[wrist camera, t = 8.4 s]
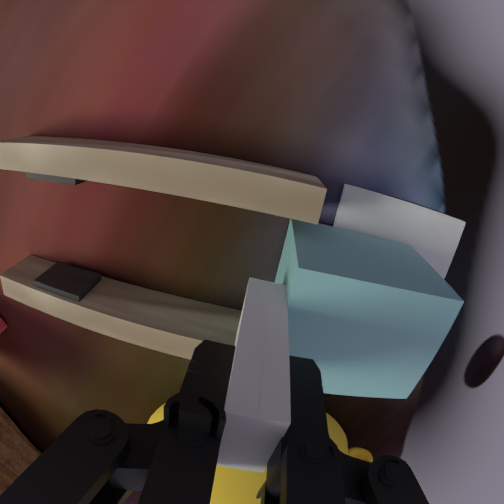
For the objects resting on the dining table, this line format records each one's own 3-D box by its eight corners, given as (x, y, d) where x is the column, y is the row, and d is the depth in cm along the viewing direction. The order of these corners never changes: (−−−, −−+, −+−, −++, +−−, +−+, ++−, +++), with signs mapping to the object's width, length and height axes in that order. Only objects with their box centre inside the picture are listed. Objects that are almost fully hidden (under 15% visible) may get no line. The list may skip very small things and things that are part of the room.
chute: (28, 135, 15) (-9, 142, 12) (316, 176, 15) (326, 188, 12) (32, 272, 19) (4, 294, 16) (272, 336, 19) (271, 376, 16)
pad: (344, 183, 15) (345, 183, 15) (464, 221, 15) (465, 222, 15) (295, 341, 19) (295, 343, 19) (403, 355, 19) (404, 357, 19)
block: (290, 216, 15) (298, 267, 10) (411, 246, 16) (464, 301, 10) (267, 308, 18) (262, 384, 12) (378, 327, 18) (406, 398, 12)
